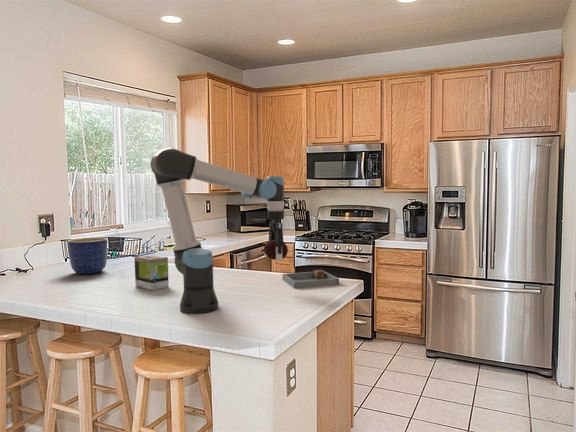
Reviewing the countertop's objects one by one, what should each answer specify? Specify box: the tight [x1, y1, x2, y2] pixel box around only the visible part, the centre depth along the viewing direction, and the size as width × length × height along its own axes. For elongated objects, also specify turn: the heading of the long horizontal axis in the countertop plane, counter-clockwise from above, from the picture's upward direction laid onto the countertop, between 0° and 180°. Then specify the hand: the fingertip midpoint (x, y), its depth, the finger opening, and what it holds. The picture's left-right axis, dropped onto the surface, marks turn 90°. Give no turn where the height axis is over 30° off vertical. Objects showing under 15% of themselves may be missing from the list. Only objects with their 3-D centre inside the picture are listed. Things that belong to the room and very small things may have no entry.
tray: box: [282, 270, 340, 289], centre depth 228 cm, size 22×20×4 cm
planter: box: [66, 236, 108, 276], centre depth 265 cm, size 21×21×19 cm
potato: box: [263, 240, 289, 261], centre depth 213 cm, size 9×12×9 cm
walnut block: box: [313, 269, 325, 280], centre depth 236 cm, size 4×4×4 cm
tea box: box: [134, 254, 170, 291], centre depth 227 cm, size 15×10×15 cm, turn 47°
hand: (276, 259), depth 213 cm, fingers closed on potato, 10 cm apart
